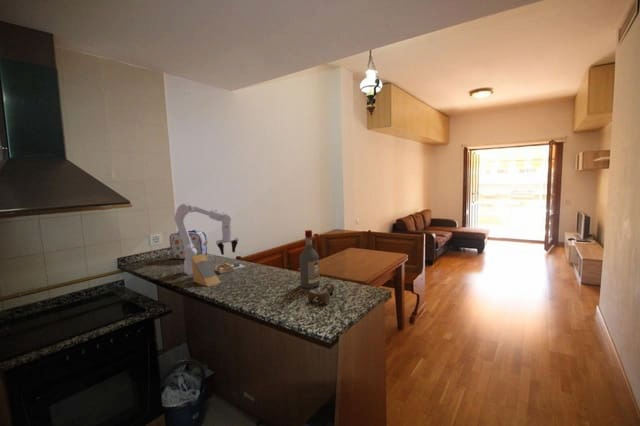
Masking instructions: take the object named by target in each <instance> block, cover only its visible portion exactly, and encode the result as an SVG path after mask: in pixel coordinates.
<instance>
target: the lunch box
mask: <svg viewBox="0 0 640 426" xmlns="http://www.w3.org/2000/svg"><path fill="white" fill-rule="evenodd" d="M188 233H189V236H190V239H191V242H192V244H193V245H194V247H195V248H196V249H197V254H196V255H201V254H205V255H206V256H207V254H208V247H207V246H208V243H209V241H208V238H207V235H206V233H205V232H203V231H200V230H197V229H193V230H188ZM169 244H170V245H169V246H170V254H171V257H173V259H178V260H185V250H184V245H183V242H182V239H181V236H180V233H179V231H178V230H177V231H176V232H173V233H171V234H170V235H169Z"/></svg>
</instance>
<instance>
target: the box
mask: <svg viewBox="0 0 640 426" xmlns="http://www.w3.org/2000/svg"><path fill="white" fill-rule="evenodd" d="M232 265H233V264H229V263H226V262H225V263H222V264H218V265H217V264H216V265H214V268H215V269H214V272H215V271H216V272H218V273H219V274H220V275H221V274H222V275H224V274H228V273H232V272H235V269H234V266H232Z"/></svg>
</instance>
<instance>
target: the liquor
mask: <svg viewBox="0 0 640 426" xmlns="http://www.w3.org/2000/svg"><path fill="white" fill-rule="evenodd" d="M304 237H305V247H304V250H303V251H302V252H301V253H300V254H299V274H300V276H299V277H300V278H299V279H300V280H299V281H300V286H301V287H302V288H305V287H306V289H314V287H315V288H317V287H319V286H318V285H320V284H321V282H320V281H321V280H320V255H319V253H318V252H317V251H316V250H315V249H314V247H313V230H312V229H311V230H309V229H307V230H305V231H304ZM316 286H317V287H316Z"/></svg>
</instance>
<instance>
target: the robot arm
mask: <svg viewBox="0 0 640 426" xmlns="http://www.w3.org/2000/svg"><path fill="white" fill-rule="evenodd" d="M189 213H200V214H203V215H205V216H208V218H209V219H212V220H214V221H218V222H221V231H222V233H221V235H222V239H220V240H216V241H215V244H216V245H217V247H218V248H219V252H220V253H221V255H224V253H225V252H224V251H225V249H224V247H225V244H226V243H230V244H231V252H232V253H236V248H237V246H238V241H239V238H238V237H233V236H232V224H231V220H232V217H231V215H229V214H228V213H225V212H221V211H218V209H211V210H210V209H206V208H205V207H201V206H199V205H197V204H196V205H195V204H193V203H188V202H184V203H181V204H180V205H178V207H177V208H176V212H175V215H174V222H175V225H176V227H177V232H178V231H179V233H180V236H181V239H182V242H183V245H184V250H185V259H184V261H183V265H184V266H183V268H184V270H183V271H182V272H183V273H184V274H186V275H188V276H190V275H193V268H192V256H196V254H197V249H196V248H195V247H194V245H193V244H192V242H191V239H190V236H189V233H188V231H189V230H188V228H187V225H186V223H185V218H186V216H187V215H188V214H189Z"/></svg>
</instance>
